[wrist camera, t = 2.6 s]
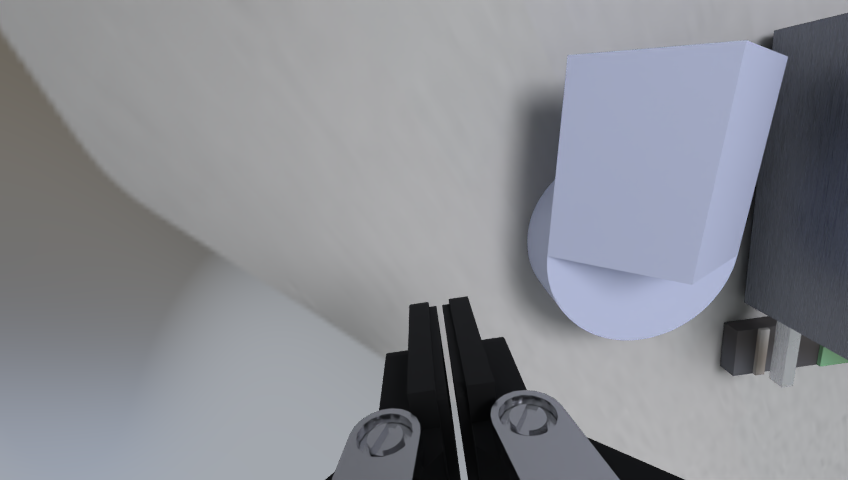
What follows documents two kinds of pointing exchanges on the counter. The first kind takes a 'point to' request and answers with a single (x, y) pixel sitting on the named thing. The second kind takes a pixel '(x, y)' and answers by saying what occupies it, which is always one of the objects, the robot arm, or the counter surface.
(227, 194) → the counter surface
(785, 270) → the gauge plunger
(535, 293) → the counter surface
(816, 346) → the frame
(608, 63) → the wedge on round base
